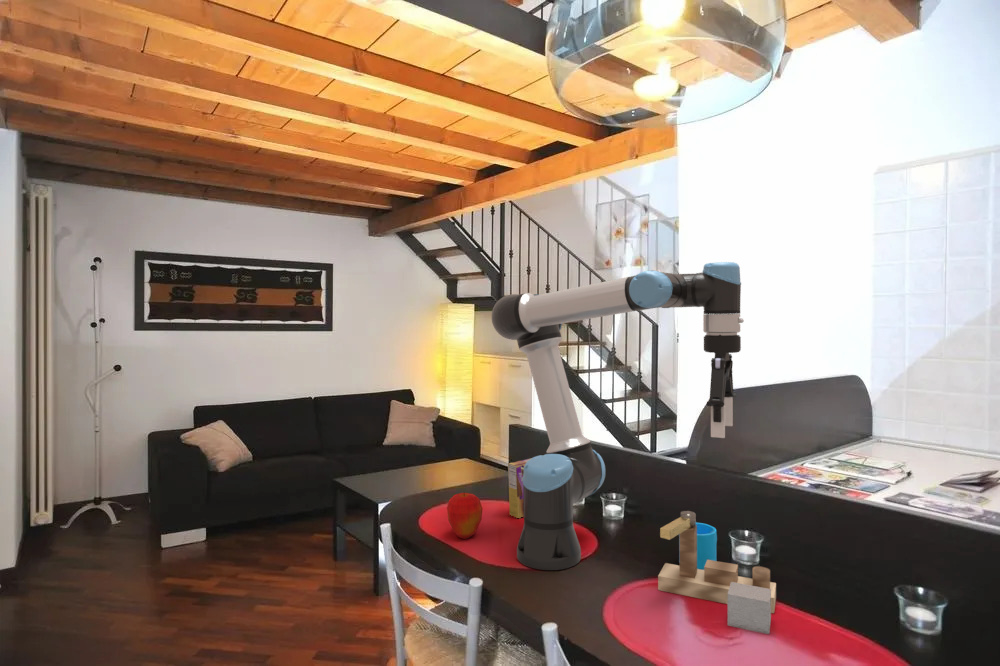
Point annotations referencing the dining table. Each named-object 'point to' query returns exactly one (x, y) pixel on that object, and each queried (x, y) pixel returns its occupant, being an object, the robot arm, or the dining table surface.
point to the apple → (464, 514)
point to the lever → (678, 525)
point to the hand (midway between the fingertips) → (722, 431)
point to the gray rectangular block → (749, 607)
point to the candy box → (516, 488)
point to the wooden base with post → (707, 575)
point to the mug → (705, 544)
